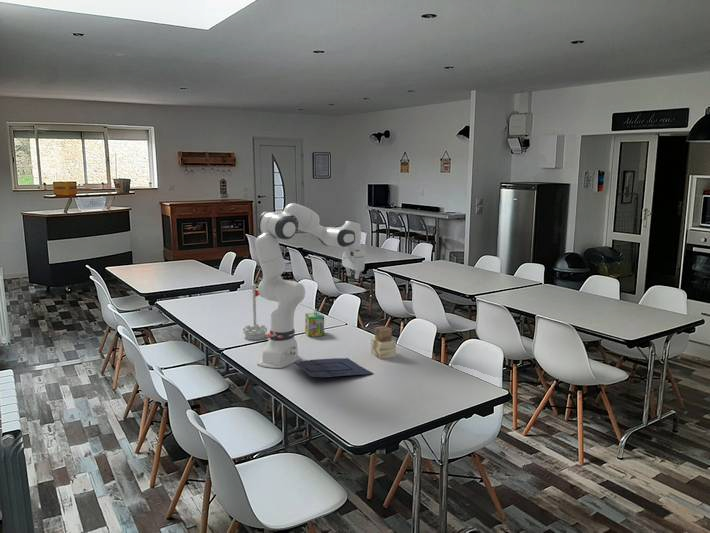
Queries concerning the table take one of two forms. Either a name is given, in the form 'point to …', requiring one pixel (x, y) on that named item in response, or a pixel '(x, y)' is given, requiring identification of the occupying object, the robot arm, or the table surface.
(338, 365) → the folded navy cloth
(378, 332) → the walnut cube
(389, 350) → the beech block
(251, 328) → the flag stand
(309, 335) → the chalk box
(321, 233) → the robot arm
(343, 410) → the table surface
